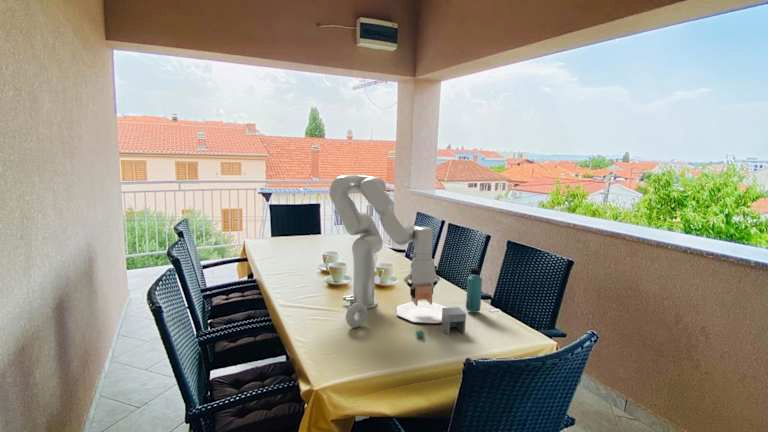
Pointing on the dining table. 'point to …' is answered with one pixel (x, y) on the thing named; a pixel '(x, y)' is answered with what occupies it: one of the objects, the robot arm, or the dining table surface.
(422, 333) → the marble
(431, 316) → the plate
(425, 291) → the pink open box
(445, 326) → the open-front grey box
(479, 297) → the beverage bottle
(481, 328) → the dining table surface
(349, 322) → the donut
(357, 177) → the robot arm
